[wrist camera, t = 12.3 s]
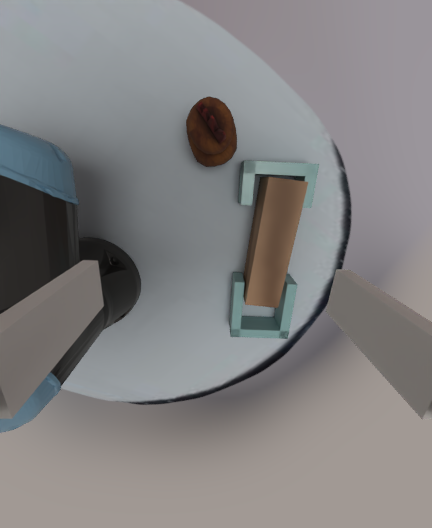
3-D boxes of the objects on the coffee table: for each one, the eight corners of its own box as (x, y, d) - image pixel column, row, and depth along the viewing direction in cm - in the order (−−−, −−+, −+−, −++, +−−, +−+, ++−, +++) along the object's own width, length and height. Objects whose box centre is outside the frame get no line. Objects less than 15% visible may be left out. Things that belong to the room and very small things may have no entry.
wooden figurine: (238, 161, 33) (255, 147, 19) (199, 172, 33) (188, 167, 19) (226, 108, 31) (235, 46, 17) (185, 121, 31) (160, 72, 17)
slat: (241, 286, 40) (245, 304, 34) (260, 177, 34) (268, 176, 28) (269, 290, 40) (278, 307, 35) (293, 181, 34) (308, 181, 29)
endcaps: (229, 322, 42) (230, 336, 38) (241, 162, 33) (244, 160, 29) (281, 324, 42) (287, 338, 39) (307, 165, 33) (319, 164, 29)
